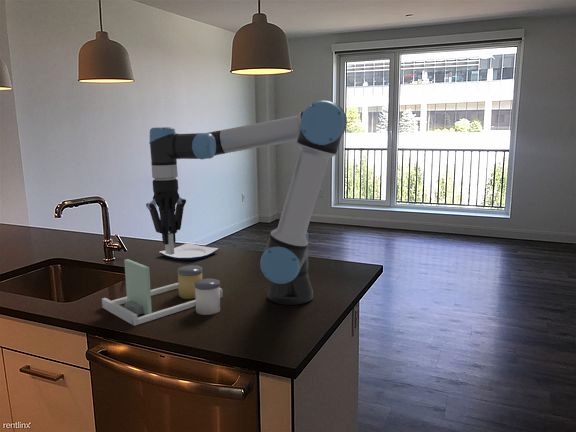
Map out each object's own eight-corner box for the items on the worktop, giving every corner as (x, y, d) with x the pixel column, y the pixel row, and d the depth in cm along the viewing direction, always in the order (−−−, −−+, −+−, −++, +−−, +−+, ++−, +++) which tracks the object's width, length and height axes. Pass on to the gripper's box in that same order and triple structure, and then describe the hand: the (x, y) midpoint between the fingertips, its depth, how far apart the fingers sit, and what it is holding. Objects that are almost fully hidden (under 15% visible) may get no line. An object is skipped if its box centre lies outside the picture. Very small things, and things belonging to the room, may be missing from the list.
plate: (190, 264, 199) (190, 258, 198) (155, 257, 209) (155, 251, 209) (222, 253, 216) (222, 247, 215) (188, 247, 226) (188, 242, 226)
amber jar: (208, 294, 163) (207, 268, 161) (188, 300, 157) (187, 274, 155) (193, 288, 169) (192, 263, 167) (173, 294, 163) (172, 269, 161)
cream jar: (225, 310, 149) (225, 282, 148) (205, 317, 144) (204, 288, 142) (210, 303, 155) (209, 276, 153) (190, 310, 149) (189, 282, 148)
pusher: (151, 314, 145) (149, 267, 143) (141, 318, 143) (138, 269, 140) (130, 304, 154) (127, 258, 151) (120, 307, 152) (117, 261, 149)
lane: (222, 297, 160) (222, 288, 160) (134, 325, 138) (133, 315, 137) (188, 283, 174) (187, 275, 173) (102, 307, 151) (101, 298, 151)
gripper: (176, 176, 153) (181, 247, 158) (139, 179, 144) (144, 255, 149) (190, 177, 148) (194, 251, 152) (152, 181, 139) (157, 260, 143)
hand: (169, 253), depth 151 cm, fingers closed
